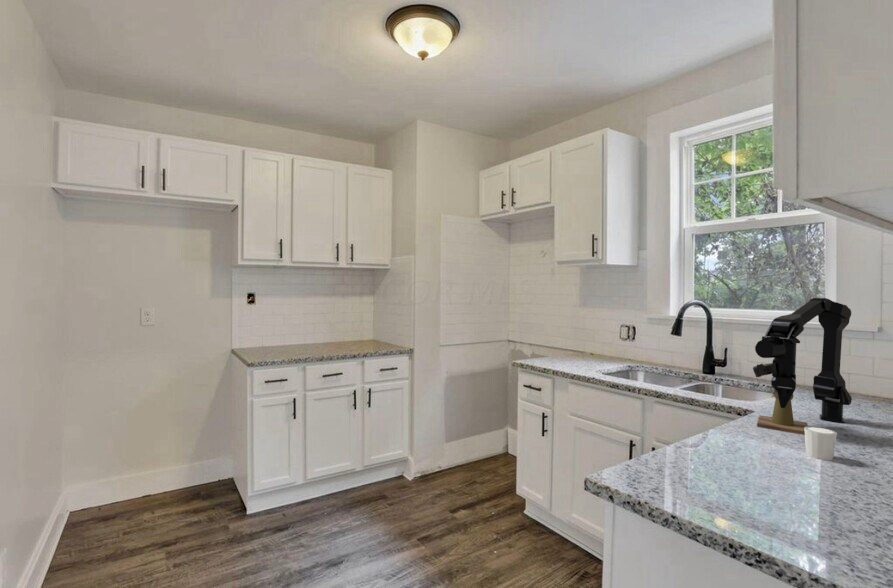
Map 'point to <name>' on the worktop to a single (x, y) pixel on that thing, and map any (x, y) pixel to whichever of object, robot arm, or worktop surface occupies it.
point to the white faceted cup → (820, 442)
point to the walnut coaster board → (766, 423)
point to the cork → (782, 412)
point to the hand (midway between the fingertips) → (782, 405)
